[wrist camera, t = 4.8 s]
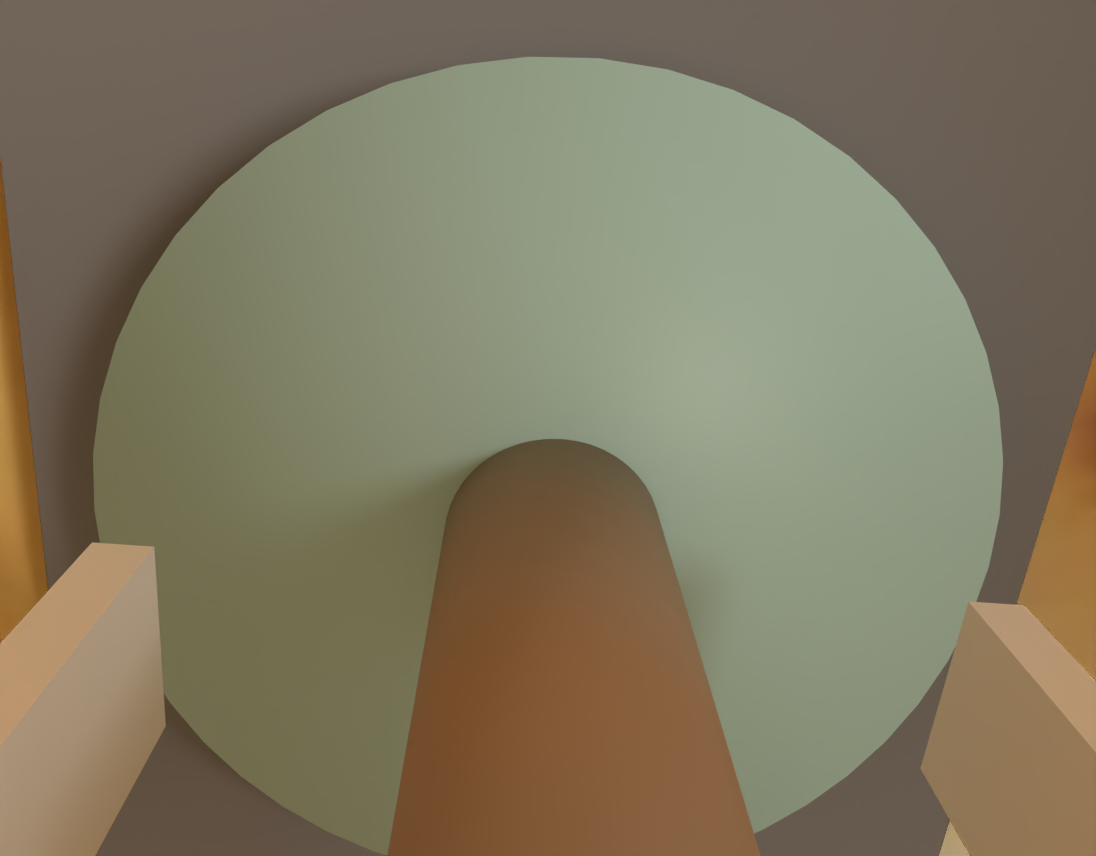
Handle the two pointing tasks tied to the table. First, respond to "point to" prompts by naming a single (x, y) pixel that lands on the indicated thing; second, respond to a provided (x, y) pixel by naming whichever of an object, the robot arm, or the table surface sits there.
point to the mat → (573, 32)
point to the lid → (551, 464)
